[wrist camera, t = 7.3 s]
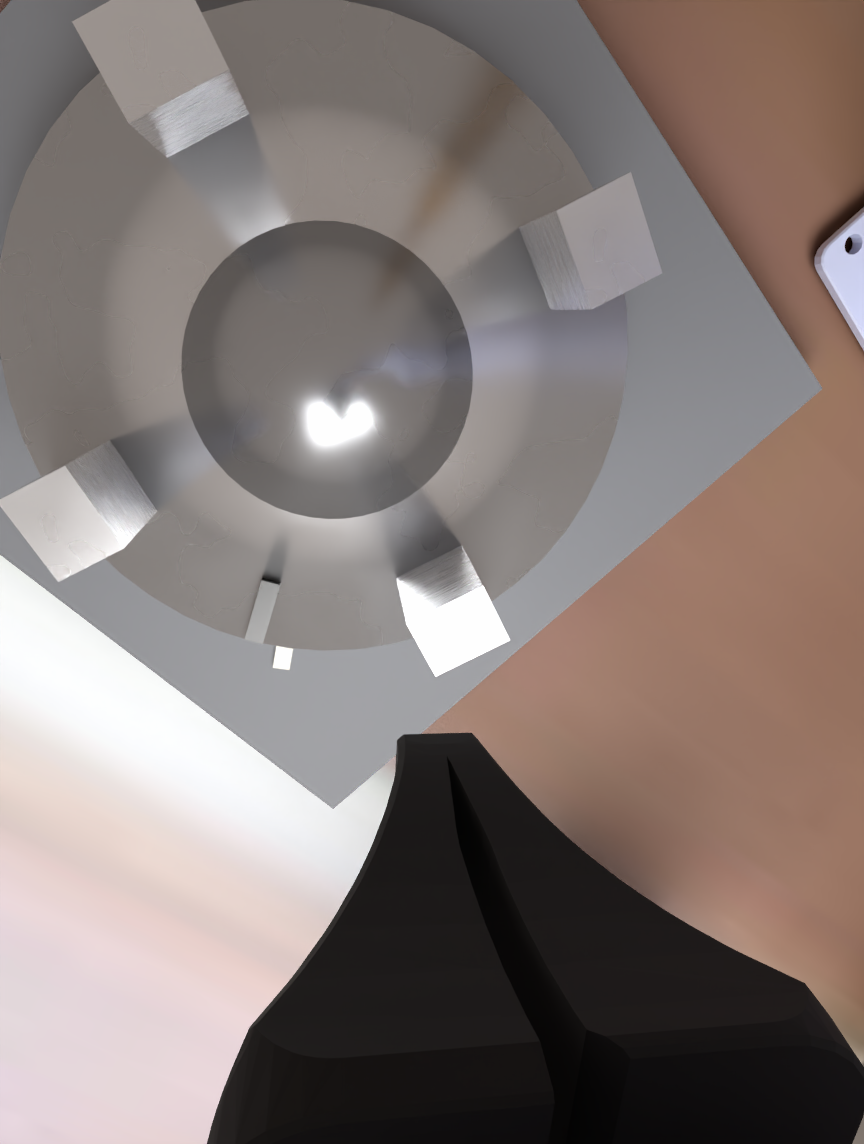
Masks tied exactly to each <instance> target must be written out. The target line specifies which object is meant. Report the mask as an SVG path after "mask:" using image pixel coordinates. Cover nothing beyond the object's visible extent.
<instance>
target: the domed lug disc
mask: <svg viewBox="0 0 864 1144" xmlns="http://www.w3.org/2000/svg"><path fill="white" fill-rule="evenodd" d="M72 23H73V24H74V26H75V28H76V30H77V32H78V33H79V35H80V37H81V39H82V41H83V42H84V44H85V46H86V48H87V50H88V51H89V53H90V55H91V57H92V59H93V60H94V62H95V64H96V66H97V68H98V69H99V71H100V73H99V74H98V75H97V76H96V77H95V78H93V79H92V80H91V81H90V82H89V83H88V84H87V85H86V86H85V87H84V88H83V89H82V90H80V91H79V93H78V94H77V95H76V96H75V98H74V99H73V100H72V101H71V103H70V104H69V105H68V107H67V108H66V109H65V110H64V112H63V113H62V114H61V115H60V117H59V118H58V119H57V121H56V122H55V123H54V124H53V126H52V127H51V128H50V130H49V131H48V133H47V135H46V137H45V138H44V140H43V142H42V144H41V146H40V147H39V149H38V151H37V153H36V155H35V156H34V158H33V160H32V162H31V163H30V165H29V167H28V169H27V171H26V173H25V176H24V179H23V181H22V184H21V187H20V189H19V192H18V195H17V197H16V200H15V203H14V205H13V208H12V211H11V213H10V217H9V221H8V226H7V231H6V235H5V240H4V244H3V249H2V254H1V258H0V357H1V362H2V367H3V372H4V377H5V382H6V387H7V392H8V397H9V400H10V403H11V406H12V409H13V412H14V415H15V418H16V421H17V424H18V427H19V430H20V433H21V435H22V438H23V440H24V442H25V445H26V447H27V449H28V451H29V453H30V455H31V457H32V459H33V461H34V463H35V465H36V467H37V470H38V472H39V474H40V476H41V477H39V478H37V479H35V480H34V481H32V482H30V483H28V484H27V485H25V486H23V487H21V488H19V489H18V490H16V491H14V492H12V493H11V494H9V495H7V496H5V497H3V498H2V499H0V507H1V508H2V509H3V511H4V512H5V513H6V514H7V516H8V517H9V518H10V520H11V521H12V522H13V524H14V525H15V526H16V528H17V529H18V530H19V531H20V533H21V534H22V535H23V537H24V538H25V539H26V541H27V542H28V543H29V545H30V546H31V547H32V548H33V550H34V551H35V552H36V554H37V555H38V556H39V558H40V559H41V560H42V562H43V563H44V564H45V565H46V567H47V568H48V569H49V571H50V572H51V573H52V575H53V576H54V577H55V579H56V580H57V581H58V582H59V581H61V580H63V579H65V578H67V577H69V576H71V575H73V574H75V573H77V572H79V571H81V570H83V569H85V568H87V567H89V566H91V565H93V564H95V563H97V562H99V561H100V560H102V559H104V558H105V559H106V560H107V561H108V562H109V563H110V564H111V565H112V566H113V567H114V568H115V569H116V570H117V571H118V572H119V573H121V574H122V575H123V576H125V577H126V578H127V579H129V580H130V581H131V582H133V583H134V584H135V585H137V586H138V587H139V588H141V589H142V590H143V591H145V592H146V593H147V594H149V595H150V596H151V597H153V598H155V599H157V600H158V601H160V602H162V603H163V604H165V605H167V606H168V607H170V608H172V609H174V610H175V611H177V612H179V613H180V614H182V615H184V616H186V617H188V618H191V619H193V620H195V621H197V622H200V623H202V624H204V625H206V626H209V627H211V628H213V629H215V630H218V631H221V632H224V633H227V634H230V635H234V636H237V637H240V638H243V639H244V640H248V641H252V642H256V643H260V644H263V643H264V644H269V645H274V646H280V647H285V648H292V649H307V650H322V651H329V650H350V649H363V648H369V647H375V646H381V645H387V644H393V643H397V642H400V641H404V640H407V639H411V638H415V640H416V642H417V644H418V646H419V647H420V649H421V651H422V653H423V655H424V656H425V658H426V660H427V662H428V664H429V665H430V667H431V669H432V671H433V673H434V674H435V676H438V675H440V674H442V673H444V672H446V671H448V670H450V669H452V668H454V667H456V666H458V665H460V664H462V663H464V662H466V661H468V660H470V659H472V658H474V657H476V656H479V655H481V654H483V653H485V652H487V651H489V650H491V649H493V648H495V647H497V646H499V645H501V644H503V643H505V642H507V641H509V640H510V639H509V637H508V635H507V633H506V631H505V629H504V627H503V625H502V623H501V621H500V619H499V617H498V615H497V613H496V611H495V609H494V607H493V605H492V603H491V602H492V601H493V600H494V599H496V598H497V597H498V596H500V595H501V594H502V593H504V592H505V591H506V590H508V589H509V588H510V587H512V586H513V585H515V584H516V583H517V582H518V581H519V580H520V579H522V578H523V577H524V576H525V575H526V574H527V573H528V572H529V571H530V570H531V569H532V568H533V567H534V566H535V565H536V564H538V563H539V562H540V561H541V560H542V559H543V558H544V557H545V555H546V554H547V553H548V552H549V551H550V549H551V548H552V547H553V546H554V545H555V543H556V542H557V541H558V540H559V539H560V538H561V536H562V535H563V534H564V533H565V532H566V530H567V529H568V527H569V526H570V524H571V523H572V521H573V520H574V518H575V516H576V515H577V513H578V512H579V510H580V509H581V507H582V506H583V504H584V503H585V501H586V499H587V497H588V495H589V493H590V491H591V489H592V487H593V485H594V483H595V481H596V479H597V477H598V475H599V473H600V471H601V469H602V467H603V464H604V461H605V459H606V456H607V453H608V450H609V447H610V445H611V442H612V439H613V436H614V433H615V430H616V425H617V421H618V417H619V412H620V408H621V403H622V399H623V395H624V386H625V376H626V367H627V357H628V337H627V309H626V302H625V295H624V293H625V292H627V291H629V290H631V289H633V288H635V287H637V286H639V285H641V284H643V283H645V282H647V281H648V280H650V279H652V278H654V277H656V276H658V275H660V274H662V270H661V267H660V263H659V260H658V257H657V254H656V251H655V247H654V244H653V241H652V238H651V235H650V231H649V228H648V225H647V222H646V219H645V215H644V212H643V209H642V206H641V203H640V199H639V196H638V193H637V190H636V187H635V183H634V180H633V177H632V174H631V172H630V173H628V174H625V175H623V176H621V177H619V178H617V179H615V180H613V181H611V182H608V183H606V184H604V185H602V186H600V187H598V188H596V189H593V187H592V186H591V184H590V182H589V180H588V178H587V177H586V175H585V173H584V171H583V170H582V168H581V166H580V164H579V162H578V161H577V159H576V157H575V155H574V153H573V152H572V150H571V149H570V147H569V146H568V145H567V143H566V142H565V141H564V139H563V138H562V137H561V135H560V134H559V133H558V131H557V130H556V129H555V127H554V126H553V125H552V123H551V122H550V121H549V119H548V118H547V117H546V115H545V114H544V113H543V112H542V111H541V110H540V109H539V108H538V107H537V106H536V105H535V104H534V103H533V102H532V101H531V99H530V98H529V97H528V96H527V95H526V94H525V93H524V92H523V91H522V90H521V89H520V88H519V87H518V86H517V85H516V84H515V83H514V82H513V81H512V80H511V79H509V78H508V77H507V76H506V75H504V74H503V73H502V72H500V71H499V70H498V69H497V68H495V67H494V66H493V65H491V64H490V63H489V62H488V61H486V60H485V59H484V58H482V57H481V56H480V55H478V54H477V53H476V52H475V51H473V50H471V49H469V48H468V47H466V46H464V45H462V44H461V43H459V42H457V41H455V40H454V39H452V38H450V37H448V36H447V35H445V34H443V33H441V32H440V31H438V30H436V29H434V28H432V27H430V26H427V25H425V24H422V23H420V22H417V21H414V20H412V19H409V18H407V17H404V16H402V15H399V14H396V13H394V12H391V11H389V10H385V9H380V8H376V7H371V6H367V5H362V4H358V3H354V2H349V1H345V0H251V1H243V2H239V3H236V4H232V5H228V6H224V7H220V8H216V9H213V10H209V11H205V12H201V11H200V9H199V7H198V5H197V3H196V1H195V0H110V1H108V2H107V3H105V4H103V5H101V6H99V7H97V8H96V9H94V10H92V11H90V12H88V13H87V14H85V15H83V16H81V17H79V18H78V19H76V20H74V21H72Z"/></svg>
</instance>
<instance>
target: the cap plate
mask: <svg viewBox="0 0 864 1144" xmlns="http://www.w3.org/2000/svg"><path fill="white" fill-rule="evenodd" d="M108 1H110V0H11V1H10V2H9V3H8V5H7V6H6V7H5V8H4V9H3V11H2V12H1V13H0V258H1V254H2V249H3V244H4V240H5V235H6V231H7V226H8V221H9V217H10V213H11V211H12V208H13V205H14V203H15V200H16V197H17V195H18V192H19V189H20V187H21V184H22V181H23V179H24V176H25V173H26V171H27V169H28V167H29V165H30V163H31V162H32V160H33V158H34V156H35V155H36V153H37V151H38V149H39V147H40V146H41V144H42V142H43V140H44V138H45V137H46V135H47V133H48V131H49V130H50V128H51V127H52V126H53V124H54V123H55V122H56V121H57V119H58V118H59V117H60V115H61V114H62V113H63V112H64V110H65V109H66V108H67V107H68V105H69V104H70V103H71V101H72V100H73V99H74V98H75V96H76V95H77V94H78V93H79V91H80V90H82V89H83V88H84V87H85V86H86V85H87V84H88V83H89V82H90V81H91V80H92V79H93V78H95V77H96V76H97V75H98V74H99V73H100V71H99V69H98V68H97V66H96V64H95V62H94V60H93V59H92V57H91V55H90V53H89V51H88V50H87V48H86V46H85V44H84V42H83V41H82V39H81V37H80V35H79V33H78V32H77V30H76V28H75V26H74V24H73V23H72V21H74V20H76V19H78V18H79V17H81V16H83V15H85V14H87V13H88V12H90V11H92V10H94V9H96V8H97V7H99V6H101V5H103V4H105V3H107V2H108ZM195 1H196V3H197V5H198V7H199V9H200V11H201V12H205V11H209V10H213V9H216V8H220V7H224V6H228V5H232V4H236V3H239V2H243V1H251V0H195ZM345 1H349V2H354V3H358V4H362V5H367V6H371V7H376V8H380V9H385V10H389V11H391V12H394V13H396V14H399V15H402V16H404V17H407V18H409V19H412V20H414V21H417V22H420V23H422V24H425V25H427V26H430V27H432V28H434V29H436V30H438V31H440V32H441V33H443V34H445V35H447V36H448V37H450V38H452V39H454V40H455V41H457V42H459V43H461V44H462V45H464V46H466V47H468V48H469V49H471V50H473V51H475V52H476V53H477V54H478V55H480V56H481V57H482V58H484V59H485V60H486V61H488V62H489V63H490V64H491V65H493V66H494V67H495V68H497V69H498V70H499V71H500V72H502V73H503V74H504V75H506V76H507V77H508V78H509V79H511V80H512V81H513V82H514V83H515V84H516V85H517V86H518V87H519V88H520V89H521V90H522V91H523V92H524V93H525V94H526V95H527V96H528V97H529V98H530V99H531V101H532V102H533V103H534V104H535V105H536V106H537V107H538V108H539V109H540V110H541V111H542V112H543V113H544V114H545V115H546V117H547V118H548V119H549V121H550V122H551V123H552V125H553V126H554V127H555V129H556V130H557V131H558V133H559V134H560V135H561V137H562V138H563V139H564V141H565V142H566V143H567V145H568V146H569V147H570V149H571V150H572V152H573V153H574V155H575V157H576V159H577V161H578V162H579V164H580V166H581V168H582V170H583V171H584V173H585V175H586V177H587V178H588V180H589V182H590V184H591V186H592V187H593V189H596V188H598V187H600V186H602V185H604V184H606V183H608V182H611V181H613V180H615V179H617V178H619V177H621V176H623V175H625V174H628V173H630V172H631V174H632V177H633V180H634V183H635V187H636V190H637V193H638V196H639V199H640V203H641V206H642V209H643V212H644V215H645V219H646V222H647V225H648V228H649V231H650V235H651V238H652V241H653V244H654V247H655V251H656V254H657V257H658V260H659V263H660V267H661V270H662V274H660V275H658V276H656V277H654V278H652V279H650V280H648V281H647V282H645V283H643V284H641V285H639V286H637V287H635V288H633V289H631V290H629V291H627V292H625V293H624V295H625V302H626V309H627V337H628V357H627V367H626V376H625V386H624V395H623V399H622V403H621V408H620V412H619V417H618V421H617V425H616V430H615V433H614V436H613V439H612V442H611V445H610V447H609V450H608V453H607V456H606V459H605V461H604V464H603V467H602V469H601V471H600V473H599V475H598V477H597V479H596V481H595V483H594V485H593V487H592V489H591V491H590V493H589V495H588V497H587V499H586V501H585V503H584V504H583V506H582V507H581V509H580V510H579V512H578V513H577V515H576V516H575V518H574V520H573V521H572V523H571V524H570V526H569V527H568V529H567V530H566V532H565V533H564V534H563V535H562V536H561V538H560V539H559V540H558V541H557V542H556V543H555V545H554V546H553V547H552V548H551V549H550V551H549V552H548V553H547V554H546V555H545V557H544V558H543V559H542V560H541V561H540V562H539V563H538V564H536V565H535V566H534V567H533V568H532V569H531V570H530V571H529V572H528V573H527V574H526V575H525V576H524V577H523V578H522V579H520V580H519V581H518V582H517V583H516V584H515V585H513V586H512V587H510V588H509V589H508V590H506V591H505V592H504V593H502V594H501V595H500V596H498V597H497V598H496V599H494V600H493V601H492V602H491V603H492V605H493V607H494V609H495V611H496V613H497V615H498V617H499V619H500V621H501V623H502V625H503V627H504V629H505V631H506V633H507V635H508V637H509V639H510V640H509V641H507V642H505V643H503V644H501V645H499V646H497V647H495V648H493V649H491V650H489V651H487V652H485V653H483V654H481V655H479V656H476V657H474V658H472V659H470V660H468V661H466V662H464V663H462V664H460V665H458V666H456V667H454V668H452V669H450V670H448V671H446V672H444V673H442V674H440V675H438V676H435V674H434V673H433V671H432V669H431V667H430V665H429V664H428V662H427V660H426V658H425V656H424V655H423V653H422V651H421V649H420V647H419V646H418V644H417V642H416V640H415V638H411V639H407V640H404V641H400V642H397V643H393V644H387V645H381V646H375V647H369V648H363V649H350V650H329V651H322V650H307V649H292V648H285V647H280V646H274V645H269V644H264V643H263V644H260V643H256V642H252V641H248V640H244V639H243V638H240V637H237V636H234V635H230V634H227V633H224V632H221V631H218V630H215V629H213V628H211V627H209V626H206V625H204V624H202V623H200V622H197V621H195V620H193V619H191V618H188V617H186V616H184V615H182V614H180V613H179V612H177V611H175V610H174V609H172V608H170V607H168V606H167V605H165V604H163V603H162V602H160V601H158V600H157V599H155V598H153V597H151V596H150V595H149V594H147V593H146V592H145V591H143V590H142V589H141V588H139V587H138V586H137V585H135V584H134V583H133V582H131V581H130V580H129V579H127V578H126V577H125V576H123V575H122V574H121V573H119V572H118V571H117V570H116V569H115V568H114V567H113V566H112V565H111V564H110V563H109V562H108V561H107V560H106V559H105V558H104V559H102V560H100V561H99V562H97V563H95V564H93V565H91V566H89V567H87V568H85V569H83V570H81V571H79V572H77V573H75V574H73V575H71V576H69V577H67V578H65V579H63V580H61V581H59V582H58V581H57V580H56V579H55V577H54V576H53V575H52V573H51V572H50V571H49V569H48V568H47V567H46V565H45V564H44V563H43V562H42V560H41V559H40V558H39V556H38V555H37V554H36V552H35V551H34V550H33V548H32V547H31V546H30V545H29V543H28V542H27V541H26V539H25V538H24V537H23V535H22V534H21V533H20V531H19V530H18V529H17V528H16V526H15V525H14V524H13V522H12V521H11V520H10V518H9V517H8V516H7V514H6V513H5V512H4V511H3V509H2V508H1V507H0V555H1V556H3V557H4V558H5V559H7V560H8V561H9V562H11V563H12V564H13V565H15V566H16V567H17V568H18V569H20V570H21V571H22V572H24V573H25V574H26V575H28V576H29V577H30V578H32V579H33V580H34V581H36V582H37V583H38V584H39V585H41V586H42V587H43V588H45V589H46V590H47V591H49V592H50V593H51V594H53V595H54V596H55V597H56V598H58V599H59V600H60V601H62V602H63V603H64V604H66V605H67V606H68V607H70V608H71V609H72V610H73V611H75V612H76V613H77V614H79V615H80V616H81V617H83V618H84V619H85V620H87V621H88V622H89V623H90V624H92V625H93V626H94V627H96V628H97V629H98V630H100V631H101V632H102V633H104V634H105V635H106V636H108V637H109V638H110V639H111V640H113V641H114V642H115V643H117V644H118V645H119V646H121V647H122V648H123V649H125V650H126V651H127V652H128V653H130V654H131V655H132V656H134V657H135V658H136V659H138V660H139V661H140V662H142V663H143V664H144V665H145V666H147V667H148V668H149V669H151V670H152V671H153V672H155V673H156V674H157V675H159V676H160V677H161V678H162V679H164V680H165V681H166V682H168V683H169V684H170V685H172V686H173V687H174V688H176V689H177V690H178V691H180V692H181V693H182V694H183V695H185V696H186V697H187V698H189V699H190V700H191V701H193V702H194V703H195V704H197V705H198V706H199V707H200V708H202V709H203V710H204V711H206V712H207V713H208V714H210V715H211V716H212V717H214V718H215V719H216V720H217V721H219V722H220V723H221V724H223V725H224V726H225V727H227V728H228V729H229V730H231V731H232V732H233V733H234V734H236V735H237V736H238V737H240V738H241V739H242V740H244V741H245V742H246V743H248V744H249V745H250V746H252V747H253V748H254V749H255V750H257V751H258V752H259V753H261V754H262V755H263V756H265V757H266V758H267V759H269V760H270V761H271V762H272V763H274V764H275V765H276V766H278V767H279V768H280V769H282V770H283V771H284V772H286V773H287V774H288V775H289V776H291V777H292V778H293V779H295V780H296V781H297V782H299V783H300V784H301V785H303V786H304V787H305V788H306V789H308V790H309V791H310V792H312V793H313V794H314V795H316V796H317V797H318V798H320V799H321V800H322V801H324V802H325V803H326V804H327V805H329V806H330V807H331V808H333V809H334V808H335V807H336V806H337V805H338V804H339V803H341V802H342V801H343V800H344V799H345V798H346V797H348V796H349V795H350V794H351V793H352V792H353V791H355V790H356V789H357V788H358V787H359V786H360V785H362V784H363V783H364V782H365V781H366V780H367V779H369V778H370V777H371V776H372V775H373V774H374V773H375V772H377V771H378V770H379V769H380V768H381V767H382V766H384V765H385V764H386V763H387V762H388V761H389V760H391V759H392V758H393V757H394V756H395V755H396V749H397V740H398V739H399V738H400V737H401V736H402V735H403V734H421V733H422V732H423V731H424V730H426V729H427V728H428V727H429V726H430V725H431V724H433V723H434V722H435V721H436V720H437V719H438V718H440V717H441V716H442V715H443V714H444V713H445V712H447V711H448V710H449V709H450V708H451V707H452V706H453V705H455V704H456V703H457V702H458V701H459V700H460V699H462V698H463V697H464V696H465V695H466V694H467V693H469V692H470V691H471V690H472V689H473V688H474V687H476V686H477V685H478V684H479V683H480V682H481V681H483V680H484V679H485V678H486V677H487V676H488V675H490V674H491V673H492V672H493V671H494V670H495V669H497V668H498V667H499V666H500V665H501V664H502V663H504V662H505V661H506V660H507V659H508V658H509V657H511V656H512V655H513V654H514V653H515V652H516V651H518V650H519V649H520V648H521V647H522V646H523V645H525V644H526V643H527V642H528V641H529V640H530V639H531V638H533V637H534V636H535V635H536V634H537V633H538V632H540V631H541V630H542V629H543V628H544V627H545V626H547V625H548V624H549V623H550V622H551V621H552V620H554V619H555V618H556V617H557V616H558V615H559V614H561V613H562V612H563V611H564V610H565V609H566V608H568V607H569V606H570V605H571V604H572V603H573V602H575V601H576V600H577V599H578V598H579V597H580V596H582V595H583V594H584V593H585V592H586V591H587V590H589V589H590V588H591V587H592V586H593V585H594V584H596V583H597V582H598V581H599V580H600V579H601V578H603V577H604V576H605V575H606V574H607V573H608V572H609V571H611V570H612V569H613V568H614V567H615V566H616V565H618V564H619V563H620V562H621V561H622V560H623V559H625V558H626V557H627V556H628V555H629V554H630V553H632V552H633V551H634V550H635V549H636V548H637V547H639V546H640V545H641V544H642V543H643V542H644V541H646V540H647V539H648V538H649V537H650V536H651V535H653V534H654V533H655V532H656V531H657V530H658V529H660V528H661V527H662V526H663V525H664V524H665V523H667V522H668V521H669V520H670V519H671V518H672V517H674V516H675V515H676V514H677V513H678V512H679V511H681V510H682V509H683V508H684V507H685V506H686V505H687V504H689V503H690V502H691V501H692V500H693V499H694V498H696V497H697V496H698V495H699V494H700V493H701V492H703V491H704V490H705V489H706V488H707V487H708V486H710V485H711V484H712V483H713V482H714V481H715V480H717V479H718V478H719V477H720V476H721V475H722V474H724V473H725V472H726V471H727V470H728V469H729V468H731V467H732V466H733V465H734V464H735V463H736V462H738V461H739V460H740V459H741V458H742V457H743V456H745V455H746V454H747V453H748V452H749V451H750V450H752V449H753V448H754V447H755V446H756V445H757V444H759V443H760V442H761V441H762V440H763V439H764V438H766V437H767V436H768V435H769V434H770V433H771V432H772V431H774V430H775V429H776V428H777V427H778V426H779V425H781V424H782V423H783V422H784V421H785V420H786V419H788V418H789V417H790V416H791V415H792V414H793V413H795V412H796V411H797V410H798V409H799V408H800V407H802V406H803V405H804V404H805V403H806V402H807V401H809V400H810V399H811V398H812V397H813V396H814V395H816V394H817V393H818V392H819V391H820V390H821V389H822V387H821V385H820V384H819V382H818V381H817V379H816V378H815V376H814V374H813V373H812V371H811V370H810V368H809V366H808V365H807V363H806V362H805V360H804V359H803V357H802V355H801V354H800V352H799V351H798V349H797V348H796V346H795V344H794V343H793V341H792V340H791V338H790V336H789V335H788V333H787V332H786V330H785V329H784V327H783V325H782V324H781V322H780V321H779V319H778V318H777V316H776V314H775V313H774V311H773V310H772V308H771V306H770V305H769V303H768V302H767V300H766V299H765V297H764V295H763V294H762V292H761V291H760V289H759V288H758V286H757V284H756V283H755V281H754V280H753V278H752V276H751V275H750V273H749V272H748V270H747V269H746V267H745V265H744V264H743V262H742V261H741V259H740V258H739V256H738V254H737V253H736V251H735V250H734V248H733V246H732V245H731V243H730V242H729V240H728V239H727V237H726V235H725V234H724V232H723V231H722V229H721V228H720V226H719V224H718V223H717V221H716V220H715V218H714V216H713V215H712V213H711V212H710V210H709V209H708V207H707V205H706V204H705V202H704V201H703V199H702V198H701V196H700V194H699V193H698V191H697V190H696V188H695V186H694V185H693V183H692V182H691V180H690V179H689V177H688V175H687V174H686V172H685V171H684V169H683V168H682V166H681V164H680V163H679V161H678V160H677V158H676V156H675V155H674V153H673V152H672V150H671V149H670V147H669V145H668V144H667V142H666V141H665V139H664V138H663V136H662V134H661V133H660V131H659V130H658V128H657V126H656V125H655V123H654V122H653V120H652V119H651V117H650V115H649V114H648V112H647V111H646V109H645V108H644V106H643V104H642V103H641V101H640V100H639V98H638V96H637V95H636V93H635V92H634V90H633V89H632V87H631V85H630V84H629V82H628V81H627V79H626V78H625V76H624V74H623V73H622V71H621V70H620V68H619V66H618V65H617V63H616V62H615V60H614V59H613V57H612V55H611V54H610V52H609V51H608V49H607V47H606V46H605V44H604V43H603V41H602V40H601V38H600V36H599V35H598V33H597V32H596V30H595V29H594V27H593V25H592V24H591V22H590V21H589V19H588V17H587V16H586V14H585V13H584V11H583V10H582V8H581V6H580V5H579V3H578V2H577V0H345ZM39 477H41V476H40V474H39V472H38V470H37V467H36V465H35V463H34V461H33V459H32V457H31V455H30V453H29V451H28V449H27V447H26V445H25V442H24V440H23V438H22V435H21V433H20V430H19V427H18V424H17V421H16V418H15V415H14V412H13V409H12V406H11V403H10V400H9V397H8V392H7V387H6V382H5V377H4V372H3V367H2V362H1V357H0V499H2V498H3V497H5V496H7V495H9V494H11V493H12V492H14V491H16V490H18V489H19V488H21V487H23V486H25V485H27V484H28V483H30V482H32V481H34V480H35V479H37V478H39Z"/></svg>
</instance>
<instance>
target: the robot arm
mask: <svg viewBox="0 0 864 1144" xmlns="http://www.w3.org/2000/svg"><path fill="white" fill-rule="evenodd" d="M848 237H850V238H852V242H853V245H852V249H851V250H850V252H849V253H847V252H846V251H845V247H844V246H845V242H846V240H847V239H848ZM814 265H815V268H816V271H817V273H818V274H819V276H820V278H821V279H822V281H823V283H824V284H825V286H826V288H827V289H828V291H829V293H830V295H831V296H832V298H833V300H834V301H835V303H836V305H837V306H838V308H839V310H840V311H841V313H842V315H843V316H844V318H845V320H846V322H847V323H848V325H849V327H850V328H851V330H852V332H853V333H854V335H855V337H856V338H857V340H858V342H859V344H860V345H861V347H862V349H863V350H864V207H863V208H862V209H861V210H860V211H858V212H857V213H856V214H855V215H854V216H853V217H852V218H851V219H850V220H848V221H847V222H846V223H845V224H844V225H843V226H842V227H841V228H839V229H838V230H837V231H836V232H835V233H834V234H833V235H832V236H831V237H829V238H828V239H827V240H826V241H825V242H824V243H823V244H822V245H821V246H820V247H819V249H818V250H817V253H816V255H815V262H814ZM863 1114H864V1067H863V1065H862V1064H861V1062H860V1061H859V1059H858V1058H857V1056H856V1055H855V1053H854V1052H853V1050H852V1049H851V1047H850V1046H849V1044H848V1043H847V1041H846V1040H845V1038H844V1037H843V1035H842V1034H841V1032H840V1031H839V1029H838V1028H837V1026H836V1025H835V1023H834V1021H833V1020H832V1018H831V1017H830V1016H829V1014H828V1013H827V1012H826V1010H825V1009H824V1008H823V1006H822V1005H821V1004H820V1002H819V1001H818V1000H817V998H816V997H815V996H814V995H813V993H812V992H811V991H810V989H809V988H808V987H807V986H806V984H805V983H803V982H801V981H799V980H797V979H795V978H792V977H790V976H788V975H786V974H784V973H782V972H780V971H778V970H776V969H773V968H771V967H769V966H767V965H765V964H763V963H761V962H759V961H757V960H754V959H752V958H750V957H748V956H746V955H744V954H742V953H740V952H738V951H736V950H734V949H732V948H730V947H728V946H726V945H724V944H722V943H721V942H719V941H717V940H715V939H713V938H712V937H710V936H708V935H706V934H704V933H703V932H701V931H699V930H697V929H695V928H694V927H692V926H690V925H688V924H687V923H685V922H683V921H682V920H680V919H678V918H677V917H675V916H674V915H672V914H670V913H669V912H667V911H665V910H664V909H662V908H661V907H659V906H658V905H656V904H655V903H653V902H652V901H650V900H649V899H647V898H646V897H644V896H643V895H641V894H640V893H638V892H637V891H635V890H634V889H632V888H631V887H629V886H628V885H627V884H625V883H624V882H622V881H621V880H620V879H618V878H617V877H616V876H614V875H613V874H611V873H610V872H609V871H608V870H606V869H605V868H604V867H603V866H601V865H600V864H599V863H598V862H596V861H595V860H594V859H593V858H591V857H590V856H589V855H588V854H586V853H585V852H584V851H583V850H581V849H580V848H579V847H578V846H577V845H576V844H574V843H573V842H572V841H571V840H570V839H569V838H568V837H566V836H565V835H564V834H563V833H562V832H561V831H560V830H559V829H558V828H557V827H556V826H555V825H554V824H553V823H552V822H551V821H550V820H549V819H548V818H547V817H546V816H545V815H544V814H543V813H542V812H541V811H540V810H539V809H538V808H537V807H536V806H535V805H534V804H533V803H532V802H531V801H530V800H529V799H528V798H527V797H526V795H525V794H524V793H523V792H522V791H521V790H520V789H519V788H518V787H517V786H516V785H515V783H514V782H513V781H512V780H511V779H510V778H509V777H508V775H507V774H506V773H505V772H504V771H503V770H502V768H501V767H500V766H499V765H498V764H497V763H496V761H495V760H494V759H493V758H492V756H491V755H490V754H489V753H488V752H487V750H486V749H485V748H484V747H483V745H482V744H481V743H480V742H479V740H478V739H477V738H476V737H475V736H474V735H473V734H472V733H442V734H403V735H402V736H401V737H400V738H399V739H398V740H397V749H396V772H395V778H394V783H393V786H392V790H391V793H390V797H389V800H388V804H387V807H386V810H385V813H384V816H383V818H382V821H381V824H380V826H379V829H378V831H377V834H376V837H375V839H374V842H373V844H372V847H371V849H370V851H369V853H368V855H367V858H366V860H365V862H364V864H363V866H362V868H361V870H360V872H359V874H358V876H357V878H356V880H355V882H354V884H353V886H352V888H351V889H350V891H349V893H348V895H347V896H346V898H345V900H344V901H343V903H342V905H341V907H340V908H339V910H338V912H337V914H336V915H335V917H334V918H333V920H332V922H331V923H330V925H329V926H328V928H327V929H326V931H325V932H324V934H323V935H322V937H321V938H320V940H319V941H318V942H317V944H316V945H315V947H314V948H313V949H312V951H311V952H310V954H309V955H308V956H307V958H306V959H305V961H304V962H303V963H302V965H301V966H300V968H299V969H298V970H297V972H296V973H295V974H294V975H293V977H292V978H291V979H290V981H289V982H288V983H287V984H286V985H285V987H284V988H283V989H282V990H281V991H280V993H279V994H278V995H277V996H276V997H275V998H274V1000H273V1001H272V1002H271V1003H270V1004H269V1005H268V1007H267V1008H266V1009H265V1010H264V1011H263V1012H262V1014H261V1015H260V1016H259V1017H258V1018H257V1019H256V1021H255V1022H254V1023H253V1024H252V1025H251V1026H250V1028H249V1030H248V1033H247V1035H246V1037H245V1039H244V1042H243V1044H242V1046H241V1049H240V1051H239V1053H238V1055H237V1058H236V1060H235V1062H234V1065H233V1067H232V1070H231V1072H230V1075H229V1077H228V1080H227V1082H226V1085H225V1087H224V1090H223V1093H222V1095H221V1098H220V1101H219V1104H218V1107H217V1110H216V1113H215V1116H214V1120H213V1123H212V1126H211V1130H210V1134H209V1138H208V1142H207V1144H852V1143H853V1140H854V1137H855V1135H856V1133H857V1130H858V1128H859V1125H860V1123H861V1120H862V1118H863Z"/></svg>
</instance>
